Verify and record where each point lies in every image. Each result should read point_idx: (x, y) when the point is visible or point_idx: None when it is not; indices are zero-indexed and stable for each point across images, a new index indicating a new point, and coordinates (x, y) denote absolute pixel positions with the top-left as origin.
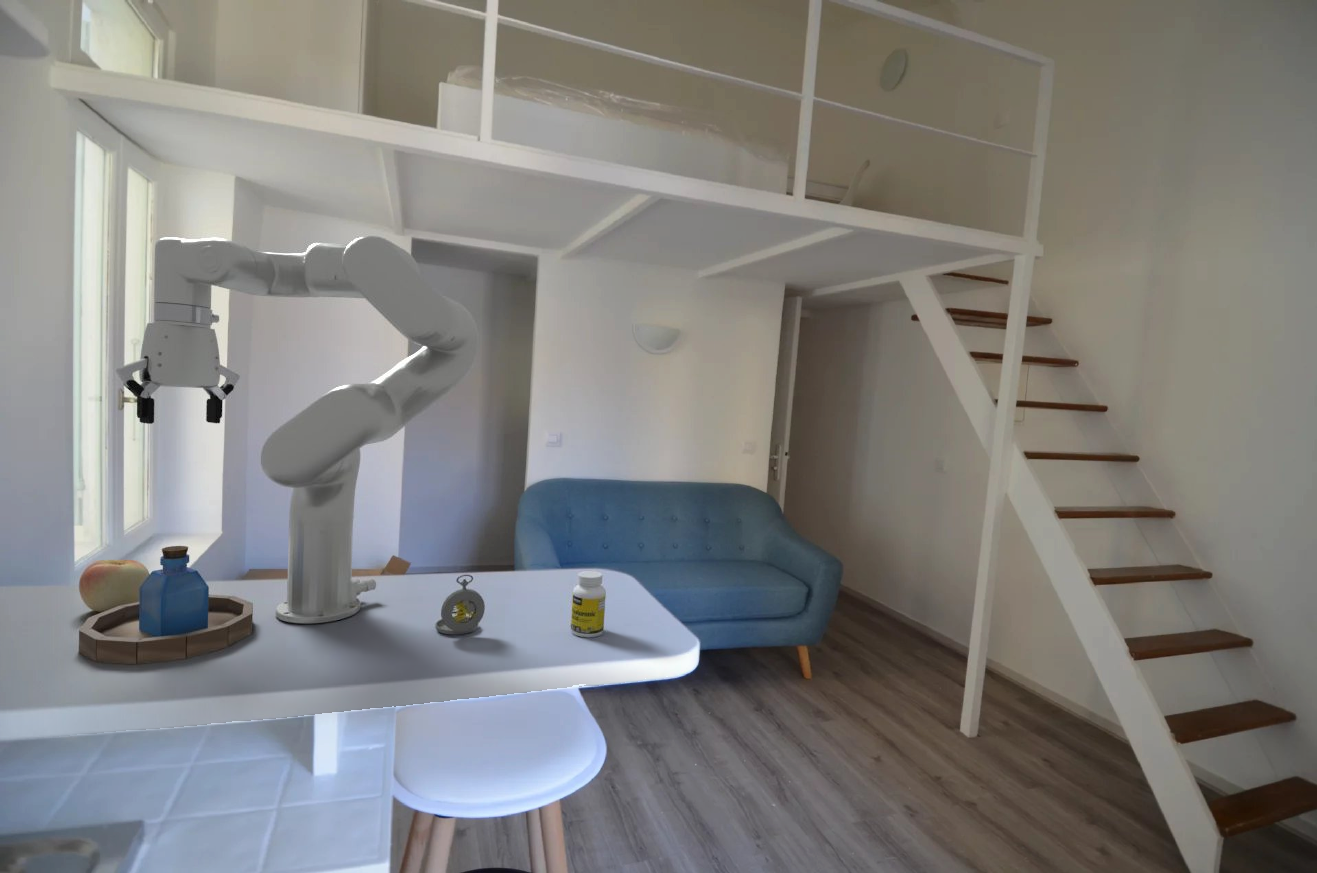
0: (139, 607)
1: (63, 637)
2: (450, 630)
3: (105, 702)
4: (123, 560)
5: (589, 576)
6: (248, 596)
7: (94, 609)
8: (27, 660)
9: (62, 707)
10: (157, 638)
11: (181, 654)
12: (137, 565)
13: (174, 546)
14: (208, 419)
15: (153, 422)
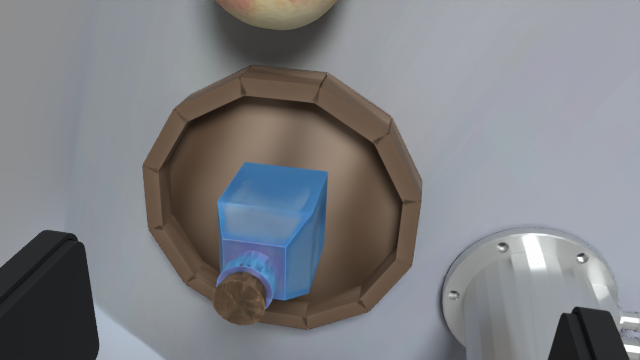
0: (230, 183)
1: (163, 52)
2: None
3: (133, 332)
4: None
5: None
6: (532, 91)
7: None
8: (98, 123)
9: (98, 308)
10: (210, 293)
11: None
12: (297, 4)
13: (245, 286)
14: (556, 354)
15: (97, 350)
